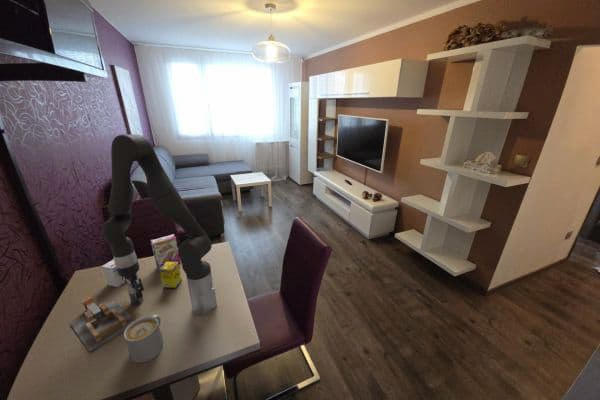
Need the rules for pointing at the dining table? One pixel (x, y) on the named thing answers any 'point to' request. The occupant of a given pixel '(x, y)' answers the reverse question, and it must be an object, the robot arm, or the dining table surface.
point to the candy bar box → (165, 250)
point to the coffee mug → (144, 338)
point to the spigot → (133, 296)
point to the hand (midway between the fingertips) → (135, 293)
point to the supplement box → (170, 275)
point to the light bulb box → (112, 274)
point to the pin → (92, 307)
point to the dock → (102, 325)
